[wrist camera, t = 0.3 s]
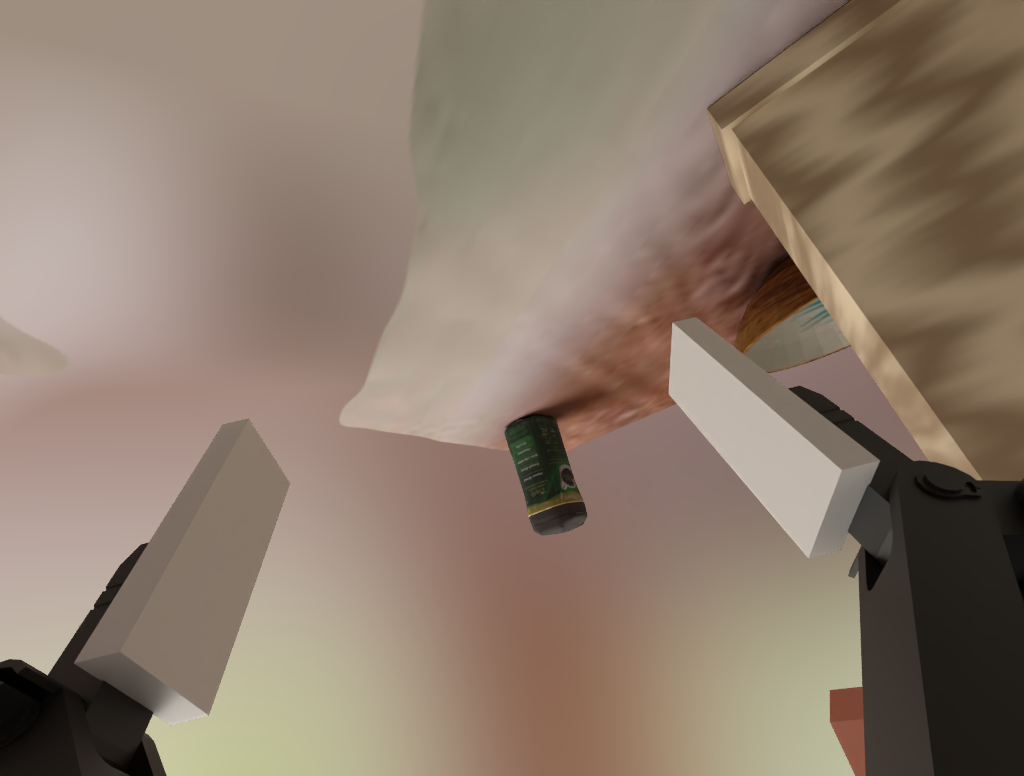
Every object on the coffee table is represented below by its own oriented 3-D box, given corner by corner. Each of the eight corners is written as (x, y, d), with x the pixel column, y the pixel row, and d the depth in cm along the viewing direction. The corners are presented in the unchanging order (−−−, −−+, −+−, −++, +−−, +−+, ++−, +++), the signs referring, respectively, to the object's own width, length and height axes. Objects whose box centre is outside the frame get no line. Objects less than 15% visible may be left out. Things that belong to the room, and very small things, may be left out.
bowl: (772, 200, 38) (822, 272, 35) (1019, 141, 40) (1087, 203, 37) (677, 342, 61) (702, 393, 58) (837, 299, 63) (870, 346, 60)
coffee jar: (495, 429, 73) (527, 542, 66) (533, 410, 69) (571, 527, 62) (525, 435, 81) (557, 536, 74) (561, 417, 77) (598, 522, 70)
